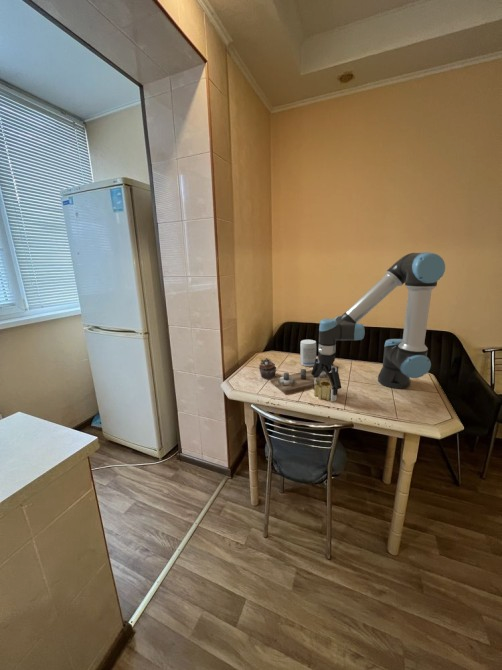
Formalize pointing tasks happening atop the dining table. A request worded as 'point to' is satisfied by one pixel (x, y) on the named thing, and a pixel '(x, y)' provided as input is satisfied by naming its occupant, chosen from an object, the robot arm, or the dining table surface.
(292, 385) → the gear board
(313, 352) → the supplement tub
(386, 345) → the robot arm
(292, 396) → the dining table surface
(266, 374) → the cupcake
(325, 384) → the brass gear
